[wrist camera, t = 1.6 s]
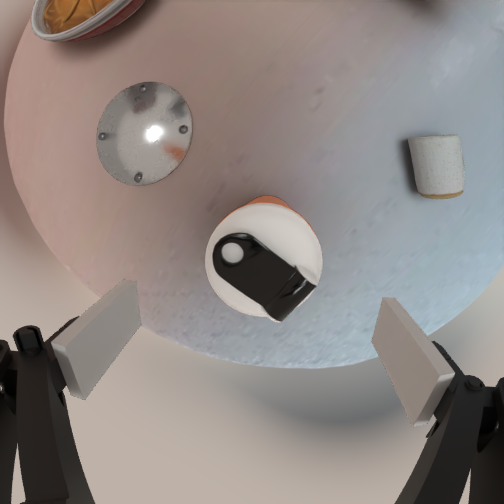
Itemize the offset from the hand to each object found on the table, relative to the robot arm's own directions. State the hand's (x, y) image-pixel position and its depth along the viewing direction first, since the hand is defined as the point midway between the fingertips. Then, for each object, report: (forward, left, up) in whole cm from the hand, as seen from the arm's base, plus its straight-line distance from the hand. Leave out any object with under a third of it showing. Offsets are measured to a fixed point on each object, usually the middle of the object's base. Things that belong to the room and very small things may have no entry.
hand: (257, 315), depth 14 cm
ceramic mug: (-11, +24, -25) cm, 36 cm away
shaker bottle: (0, 0, -25) cm, 25 cm away
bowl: (-38, -27, -25) cm, 53 cm away
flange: (-12, -18, -25) cm, 33 cm away
